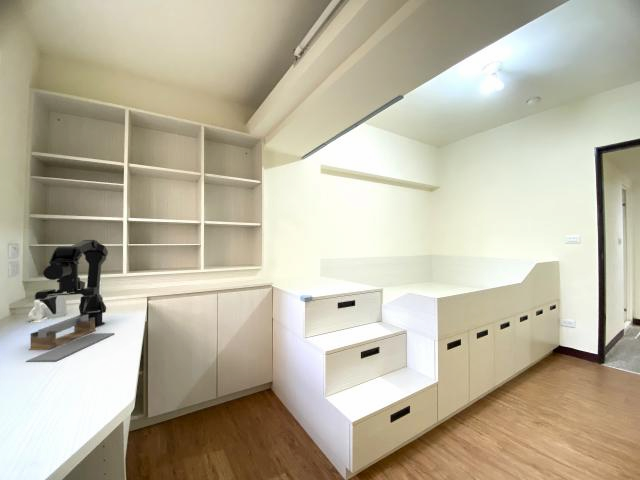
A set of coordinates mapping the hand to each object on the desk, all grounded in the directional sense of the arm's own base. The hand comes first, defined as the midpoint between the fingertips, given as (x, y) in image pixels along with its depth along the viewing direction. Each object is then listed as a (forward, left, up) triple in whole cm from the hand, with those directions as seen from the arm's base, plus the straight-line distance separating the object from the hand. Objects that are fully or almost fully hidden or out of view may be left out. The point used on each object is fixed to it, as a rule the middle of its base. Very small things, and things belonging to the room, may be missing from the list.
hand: (69, 313), depth 105 cm
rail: (+3, -2, -7) cm, 8 cm away
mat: (-8, +6, -12) cm, 15 cm away
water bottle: (+27, -44, -12) cm, 53 cm away
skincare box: (+41, -36, -12) cm, 56 cm away
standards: (+3, -2, -12) cm, 12 cm away
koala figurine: (+41, -27, -12) cm, 51 cm away
